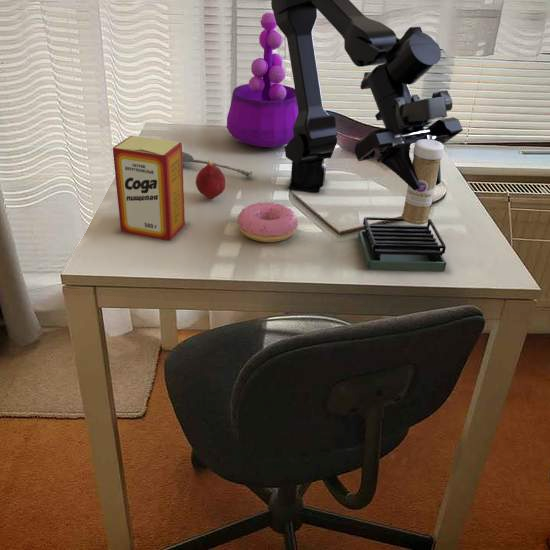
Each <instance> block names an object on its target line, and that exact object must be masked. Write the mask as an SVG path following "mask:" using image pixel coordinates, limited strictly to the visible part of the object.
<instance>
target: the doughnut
mask: <svg viewBox="0 0 550 550" xmlns="http://www.w3.org/2000/svg"><path fill="white" fill-rule="evenodd" d="M236 221H237V225H238V229H239V231H240V232H241V233H242V234H243V235H244V236H245V237H246V238H248V239H250V240H253V241H256V242H261V243H278V242H281V241H285V240H287V239H288V238H290V237H292V236H293V235H294V234H295V232H296V231H297V227H298V225H299V222H298V218H297V214H296V213H295V212H294V211H293V210H292V209H291V208H290V207H288V206H286V205H284V204H281V203H276V202H267V201H266V202H256V203H252V204H250V205H248V206H245V208H242V209H241V211H240V212H239V214H237V219H236Z"/></svg>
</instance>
